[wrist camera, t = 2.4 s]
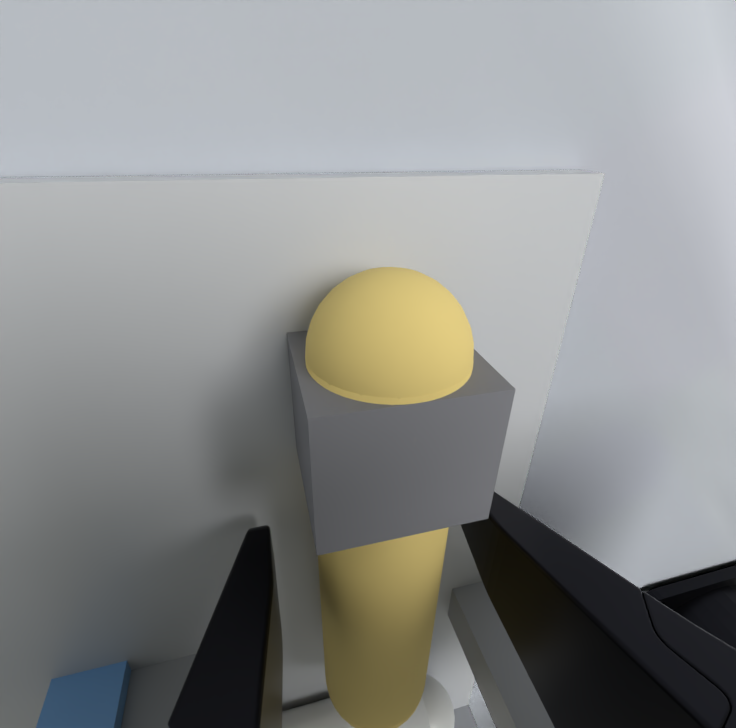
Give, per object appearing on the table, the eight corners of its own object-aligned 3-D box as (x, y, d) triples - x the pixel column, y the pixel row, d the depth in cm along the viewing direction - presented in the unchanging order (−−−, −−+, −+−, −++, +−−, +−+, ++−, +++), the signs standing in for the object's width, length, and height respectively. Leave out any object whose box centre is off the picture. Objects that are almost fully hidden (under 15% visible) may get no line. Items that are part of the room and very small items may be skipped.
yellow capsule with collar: (279, 252, 6) (300, 314, 4) (449, 242, 7) (535, 293, 5) (314, 658, 12) (330, 770, 10) (408, 633, 12) (442, 733, 10)
